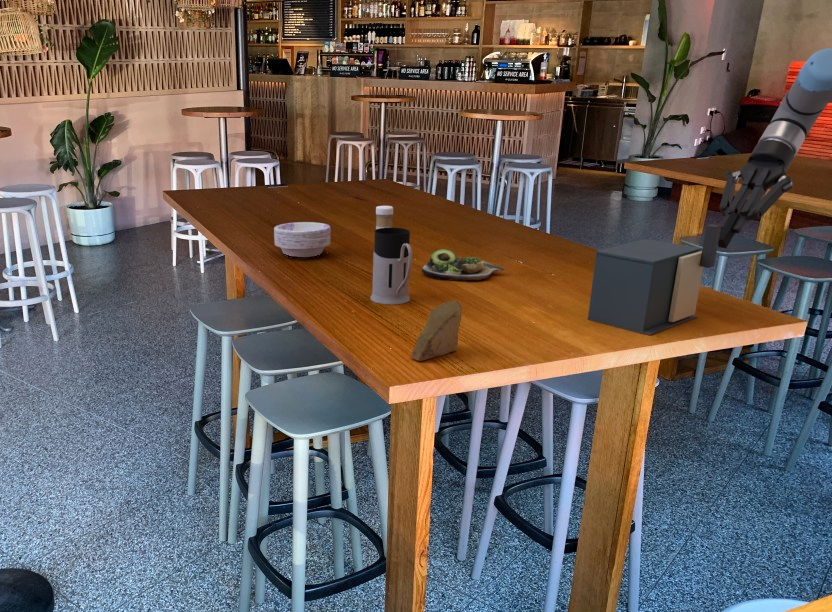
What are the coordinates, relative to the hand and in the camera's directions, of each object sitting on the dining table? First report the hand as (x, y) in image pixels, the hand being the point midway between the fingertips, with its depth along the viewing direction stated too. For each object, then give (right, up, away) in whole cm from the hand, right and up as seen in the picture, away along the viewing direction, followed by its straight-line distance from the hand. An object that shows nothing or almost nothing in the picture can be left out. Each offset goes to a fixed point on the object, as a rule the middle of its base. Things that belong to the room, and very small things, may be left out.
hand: (721, 243), depth 156 cm
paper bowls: (-84, +7, +58) cm, 103 cm away
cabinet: (-15, -14, +4) cm, 21 cm away
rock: (-59, -23, -15) cm, 65 cm away
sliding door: (-6, -15, +1) cm, 16 cm away
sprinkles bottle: (-62, +6, +56) cm, 84 cm away
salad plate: (-46, 0, +40) cm, 60 cm away
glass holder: (-63, -10, +15) cm, 66 cm away
